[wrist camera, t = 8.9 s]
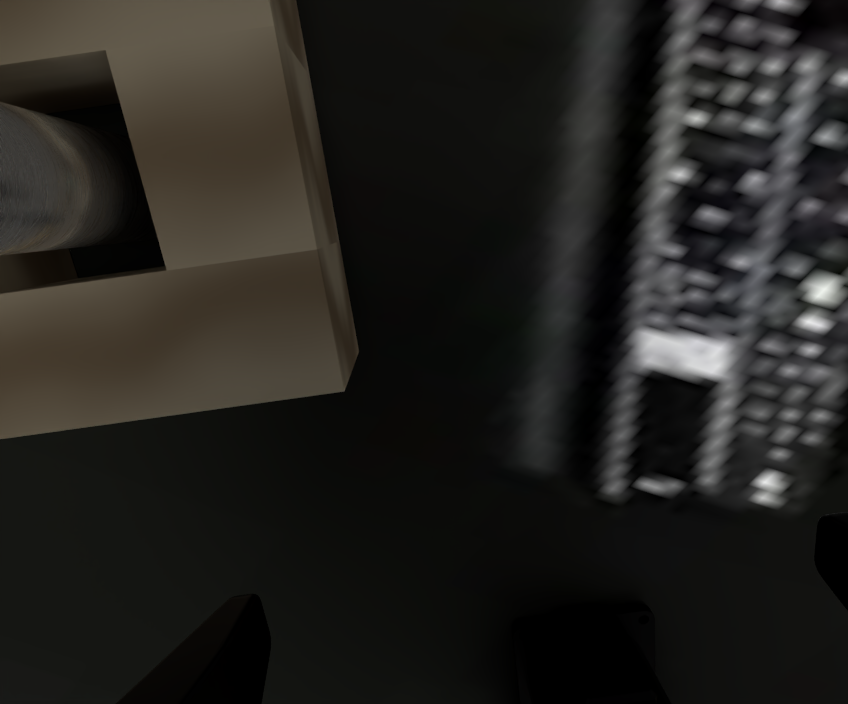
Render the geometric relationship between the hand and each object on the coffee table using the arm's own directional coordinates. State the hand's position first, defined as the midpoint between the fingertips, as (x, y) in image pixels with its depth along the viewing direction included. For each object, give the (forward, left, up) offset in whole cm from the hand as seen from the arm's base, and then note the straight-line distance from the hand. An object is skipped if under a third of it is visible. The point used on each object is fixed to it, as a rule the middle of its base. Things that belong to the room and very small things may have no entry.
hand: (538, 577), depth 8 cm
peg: (+8, +11, -12) cm, 18 cm away
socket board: (+8, +11, -12) cm, 18 cm away
